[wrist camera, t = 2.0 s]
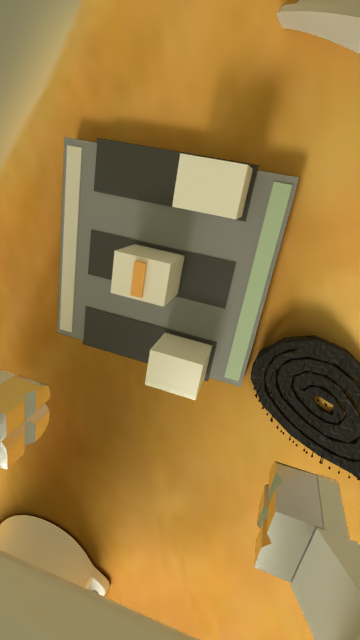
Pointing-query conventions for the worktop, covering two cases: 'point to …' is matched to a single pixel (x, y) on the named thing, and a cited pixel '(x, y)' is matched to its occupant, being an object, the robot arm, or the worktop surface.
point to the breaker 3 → (211, 186)
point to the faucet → (325, 20)
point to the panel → (172, 236)
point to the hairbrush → (309, 380)
